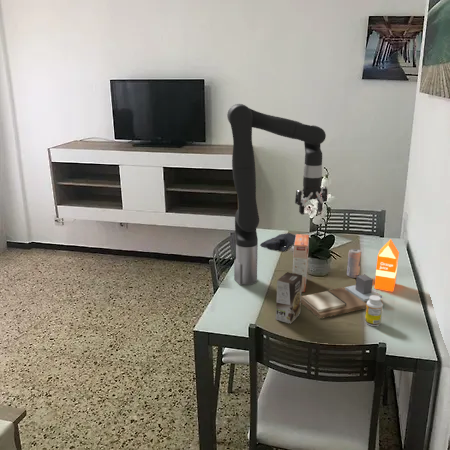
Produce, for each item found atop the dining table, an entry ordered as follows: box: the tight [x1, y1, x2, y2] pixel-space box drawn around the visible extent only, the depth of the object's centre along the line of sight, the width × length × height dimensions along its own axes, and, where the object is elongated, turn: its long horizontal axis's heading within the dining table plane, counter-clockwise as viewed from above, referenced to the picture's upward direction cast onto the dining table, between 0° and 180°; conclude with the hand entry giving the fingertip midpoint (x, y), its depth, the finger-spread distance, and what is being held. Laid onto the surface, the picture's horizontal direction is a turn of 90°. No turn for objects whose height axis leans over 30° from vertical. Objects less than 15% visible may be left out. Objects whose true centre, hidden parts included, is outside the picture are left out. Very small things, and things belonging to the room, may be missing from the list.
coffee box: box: [275, 271, 302, 325], centre depth 175 cm, size 9×6×16 cm
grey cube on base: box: [344, 274, 383, 302], centre depth 190 cm, size 9×12×7 cm
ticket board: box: [301, 286, 367, 319], centre depth 186 cm, size 22×16×3 cm
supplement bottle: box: [364, 295, 384, 327], centre depth 171 cm, size 6×6×10 cm
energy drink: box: [346, 248, 362, 279], centre depth 210 cm, size 5×5×12 cm
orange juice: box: [374, 238, 400, 292], centre depth 198 cm, size 8×9×20 cm
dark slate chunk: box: [259, 232, 296, 252], centre depth 251 cm, size 15×22×5 cm
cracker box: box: [292, 233, 310, 293], centre depth 200 cm, size 14×6×21 cm, turn 168°
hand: (310, 212), depth 200 cm, fingers open, 8 cm apart
